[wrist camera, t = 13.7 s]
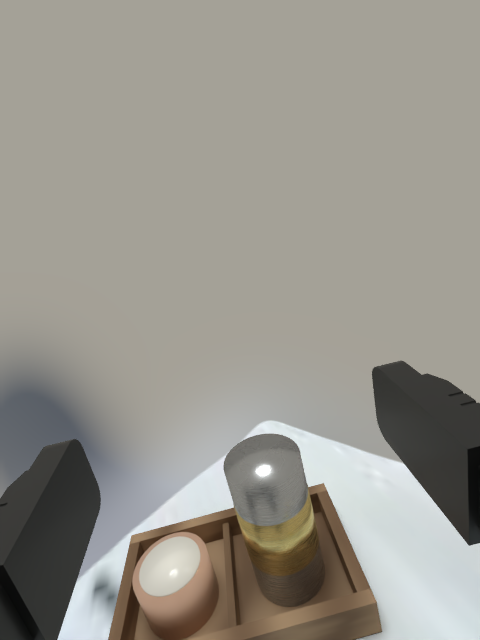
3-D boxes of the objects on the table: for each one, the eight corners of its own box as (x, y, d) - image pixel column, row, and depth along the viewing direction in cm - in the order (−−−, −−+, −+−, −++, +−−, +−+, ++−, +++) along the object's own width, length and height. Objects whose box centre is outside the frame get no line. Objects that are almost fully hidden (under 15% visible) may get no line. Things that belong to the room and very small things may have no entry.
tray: (113, 707, 26) (99, 680, 26) (141, 557, 38) (131, 535, 37) (381, 631, 27) (376, 602, 26) (328, 506, 38) (323, 483, 37)
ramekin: (141, 650, 29) (124, 613, 28) (152, 574, 35) (138, 541, 34) (220, 628, 29) (207, 590, 28) (217, 556, 35) (206, 522, 34)
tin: (261, 616, 29) (225, 498, 25) (251, 549, 35) (220, 444, 31) (335, 595, 29) (310, 475, 26) (313, 531, 35) (290, 426, 32)
